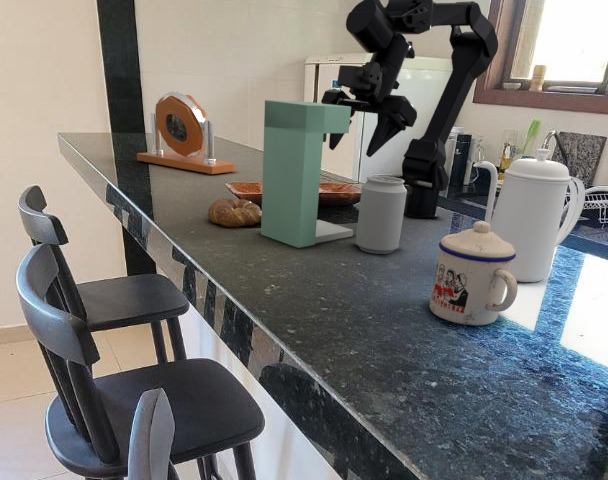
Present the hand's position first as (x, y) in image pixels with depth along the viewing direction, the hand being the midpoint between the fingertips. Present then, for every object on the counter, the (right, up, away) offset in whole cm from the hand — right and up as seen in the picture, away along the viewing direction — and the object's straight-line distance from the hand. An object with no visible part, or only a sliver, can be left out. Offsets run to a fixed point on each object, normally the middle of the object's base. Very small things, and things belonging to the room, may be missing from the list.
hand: (348, 152), depth 97 cm
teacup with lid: (+13, -33, -30) cm, 46 cm away
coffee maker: (-7, -15, +1) cm, 17 cm away
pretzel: (-22, -11, +7) cm, 25 cm away
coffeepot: (+25, -24, -11) cm, 37 cm away
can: (+4, -19, -4) cm, 20 cm away
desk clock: (-44, +20, +62) cm, 78 cm away
